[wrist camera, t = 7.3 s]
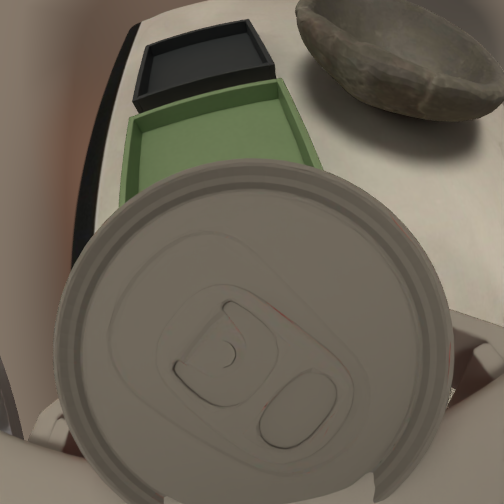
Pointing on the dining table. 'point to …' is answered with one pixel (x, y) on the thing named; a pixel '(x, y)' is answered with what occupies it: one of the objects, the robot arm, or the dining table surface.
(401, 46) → the bowl
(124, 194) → the sage tray
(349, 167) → the dining table surface
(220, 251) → the beverage can
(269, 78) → the slate tray
